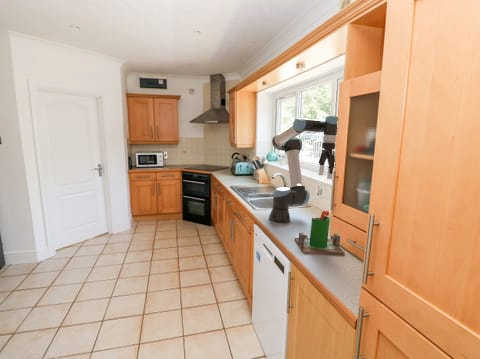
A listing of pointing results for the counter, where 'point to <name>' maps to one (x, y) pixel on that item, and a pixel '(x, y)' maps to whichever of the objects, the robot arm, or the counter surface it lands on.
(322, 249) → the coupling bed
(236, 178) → the counter surface
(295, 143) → the robot arm
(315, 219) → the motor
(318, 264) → the counter surface
